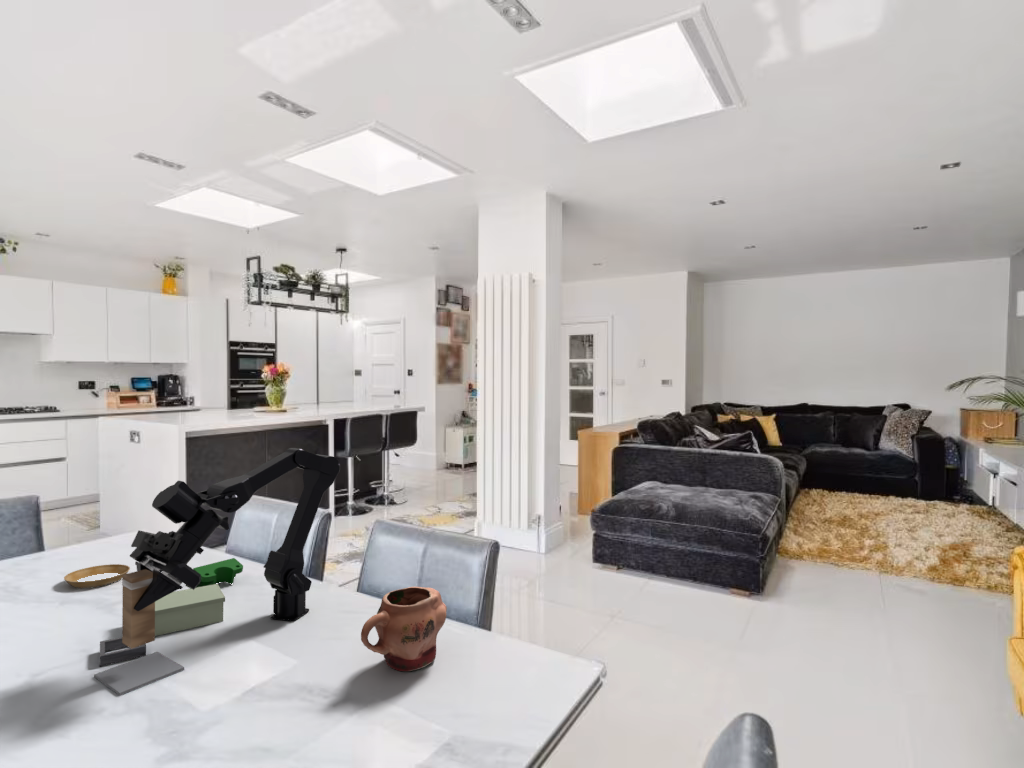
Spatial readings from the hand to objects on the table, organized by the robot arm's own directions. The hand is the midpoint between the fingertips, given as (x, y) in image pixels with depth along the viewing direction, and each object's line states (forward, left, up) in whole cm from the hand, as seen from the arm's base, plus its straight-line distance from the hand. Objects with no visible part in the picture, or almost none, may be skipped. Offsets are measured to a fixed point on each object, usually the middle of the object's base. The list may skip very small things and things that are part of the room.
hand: (130, 607), depth 106 cm
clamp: (+18, -44, -13) cm, 49 cm away
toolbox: (+9, -22, -13) cm, 27 cm away
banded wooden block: (-1, -1, -7) cm, 7 cm away
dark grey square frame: (+9, -7, -13) cm, 17 cm away
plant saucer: (+52, -39, -13) cm, 66 cm away
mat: (-1, -1, -13) cm, 13 cm away
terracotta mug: (-49, -17, -13) cm, 53 cm away
